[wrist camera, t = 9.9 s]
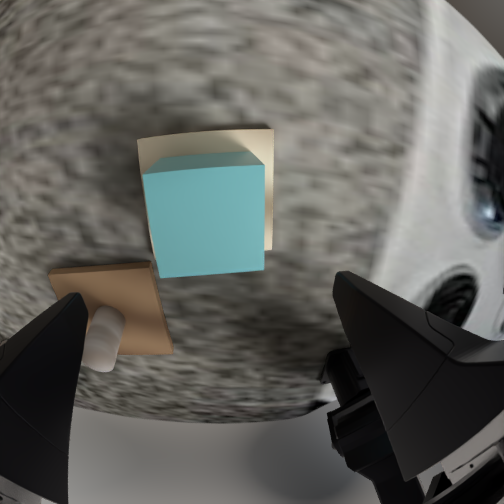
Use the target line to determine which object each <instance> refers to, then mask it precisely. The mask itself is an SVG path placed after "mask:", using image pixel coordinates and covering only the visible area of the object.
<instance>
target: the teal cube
mask: <svg viewBox="0 0 504 504" xmlns="http://www.w3.org/2000/svg"><path fill="white" fill-rule="evenodd" d="M143 183H144V191H145V198H146V205H147V211H148V217H149V223H150V229H151V235H152V240H153V246H154V251H155V256H156V261H157V265H158V270H159V275H160V278H170V277H184V276H197V275H210V274H222V273H234V272H246V271H258V270H264V233H265V165H264V164H263V163H262V162H261V161H260V160H259V159H258V158H257V157H256V156H255V155H254V154H253V153H252V152H251V151H248V152H225V153H209V154H196V155H185V156H175V157H166V158H160V159H159V160H158V161H156V162H155V163H154V164H153V165H152V166H151V167H150V168H149V169H148V170H147V171H146V172H145V173H144V174H143Z"/></svg>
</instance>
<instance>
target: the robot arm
mask: <svg viewBox="0 0 504 504" xmlns="http://www.w3.org/2000/svg"><path fill="white" fill-rule="evenodd" d="M333 298H334V301H335V304H336V307H337V310H338V313H339V316H340V319H341V322H342V326H343V328H344V331H345V334H346V336H347V338H348V341H349V343H350V345H351V348H347V349H342V350H337V351H333V352H330V353H329V354H328V356H327V359H326V363H325V366H324V369H323V373H322V376H321V379H320V383H321V384H327V383H331V385H332V387H333V389H334V392H335V394H336V397H337V399H338V402H339V404H340V407H339V408H337V409H335V410H333V411H330V412H328V413H327V416H328V419H327V421H328V425H329V430H330V435H331V440H332V448H333V449H334V450H337V451H338V453H339V454H340V456H342V457H344V458H345V461H346V464H347V466H348V467H349V468H350V469H351V470H353V471H354V472H358V473H359V474H361V475H363V476H364V477H366V478H368V479H369V480H371V481H372V482H373V484H374V487H375V490H376V492H377V495H378V498H379V500H380V503H381V504H504V340H501V341H492V340H487V339H484V338H482V337H480V336H478V335H475V334H473V333H471V332H469V331H467V330H464V329H462V328H460V327H458V326H456V325H453V324H451V323H449V322H447V321H445V320H443V319H441V318H439V317H437V316H435V315H433V314H431V313H430V312H428V311H425V310H424V309H422V308H420V307H418V306H416V305H414V304H412V303H411V302H409V301H407V300H405V299H403V298H401V297H399V296H397V295H395V294H393V293H391V292H389V291H387V290H385V289H383V288H381V287H379V286H378V285H376V284H374V283H372V282H370V281H368V280H366V279H364V278H362V277H360V276H358V275H356V274H354V273H352V272H350V271H339V272H337V273H336V276H335V281H334V286H333ZM88 318H89V313H88V309H87V307H86V304H85V302H84V300H83V297H82V295H81V294H80V293H79V292H71V293H68V294H67V295H66V296H64V297H63V298H61V299H60V300H59V301H57V302H56V303H55V304H53V305H52V306H51V307H49V308H48V309H47V310H45V311H44V312H43V313H41V314H40V315H39V316H37V317H36V318H35V319H34V320H32V321H31V322H30V323H28V324H27V325H26V326H25V327H23V328H22V329H21V330H20V331H18V332H17V333H16V334H15V335H13V336H12V337H11V338H10V339H9V340H7V341H6V343H4V344H3V345H1V346H0V504H41V499H42V498H44V499H46V500H49V501H51V502H54V503H57V504H68V458H69V457H68V455H69V440H70V430H71V421H72V413H73V405H74V399H75V392H76V387H77V381H78V376H79V371H80V366H81V361H82V356H83V351H84V344H85V337H86V330H87V324H88ZM439 462H441V464H442V466H443V468H444V471H442V472H441V473H439V474H437V475H436V476H434V477H433V479H432V481H431V484H430V486H429V489H428V492H427V494H426V492H425V490H424V487H423V485H422V482H421V480H420V478H419V474H421V473H422V472H424V471H426V470H428V469H429V468H431V467H433V466H434V465H436V464H438V463H439Z"/></svg>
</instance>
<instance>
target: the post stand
mask: <svg viewBox="0 0 504 504" xmlns="http://www.w3.org/2000/svg"><path fill="white" fill-rule="evenodd" d="M48 277H49V279H50V282H51V284H52V287H53V289H54V291H55V294H56V296H57V298H58V300H60V299H61V298H63V297H64V296H66V295H67V294H68V293H71V292H79V293H80V294H81V295H82V297H83V300H84V302H85V304H86V307H87V309H88V313H89V318H88V324H87V330H86V337H85V344H84V351H83V356H82V361H83V363H84V364H86V365H87V366H88V367H90V368H92V369H94V370H96V371H100V372H109V371H111V370H112V369H113V368H114V365H115V360H116V356H117V354H119V355H155V354H173V348H174V346H173V343H172V340H171V336H170V333H169V330H168V326H167V323H166V319H165V316H164V312H163V308H162V304H161V301H160V297H159V293H158V289H157V285H156V280H155V276H154V272H153V267H152V263H151V261H148V262H136V263H123V264H110V265H97V266H84V267H71V268H58V269H52V270H51V271H50V273H49V274H48Z"/></svg>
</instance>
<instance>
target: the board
mask: <svg viewBox="0 0 504 504" xmlns="http://www.w3.org/2000/svg"><path fill="white" fill-rule="evenodd" d="M137 144H138V155H139V164H140V173H141V181H142V188H143V195H144V202H145V208H146V215H147V221H148V226H149V232H150V238H151V243H152V248H153V253H154V258H155V259H156V256H155V251H154V246H153V240H152V235H151V229H150V223H149V217H148V211H147V205H146V198H145V191H144V183H143V174H144V173H145V172H146V171H147V170H148V169H149V168H150V167H151V166H152V165H153V164H154V163H155V162H156V161H158V160H159V159H160V158H166V157H175V156H185V155H196V154H209V153H225V152H248V151H251V152H252V153H253V154H254V155H255V156H256V157H257V158H258V159H259V160H260V161H261V162H262V163H263V164H264V165H265V233H264V250H272V223H273V156H274V129H236V130H216V131H201V132H190V133H179V134H170V135H162V136H155V137H147V138H141V139H137Z"/></svg>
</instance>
